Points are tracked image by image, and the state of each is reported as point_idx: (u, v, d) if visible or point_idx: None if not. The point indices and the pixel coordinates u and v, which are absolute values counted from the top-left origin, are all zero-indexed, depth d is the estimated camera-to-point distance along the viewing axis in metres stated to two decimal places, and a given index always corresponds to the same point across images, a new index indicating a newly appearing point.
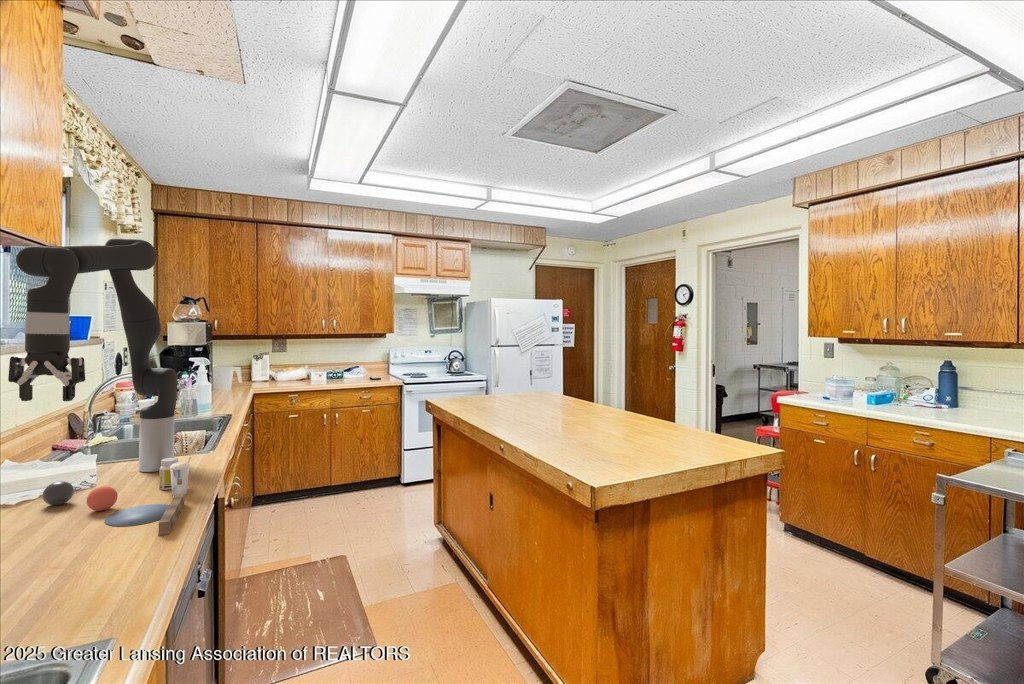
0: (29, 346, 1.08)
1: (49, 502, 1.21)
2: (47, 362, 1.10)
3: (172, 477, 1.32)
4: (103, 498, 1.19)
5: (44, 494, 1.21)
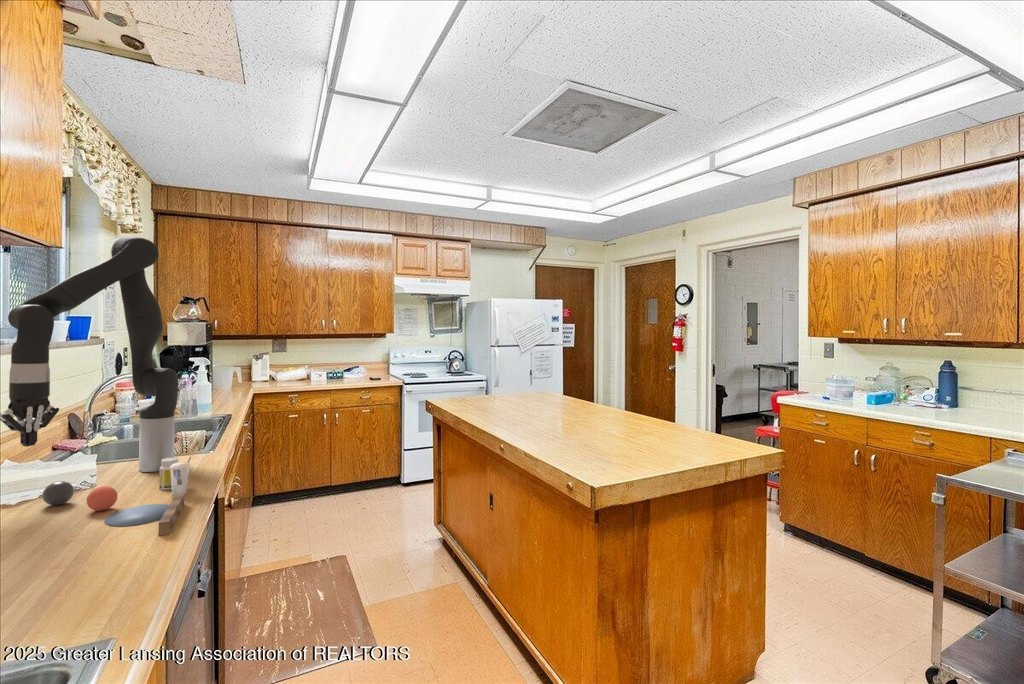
0: None
1: (49, 502, 1.21)
2: None
3: (172, 477, 1.32)
4: (103, 498, 1.19)
5: (44, 494, 1.21)
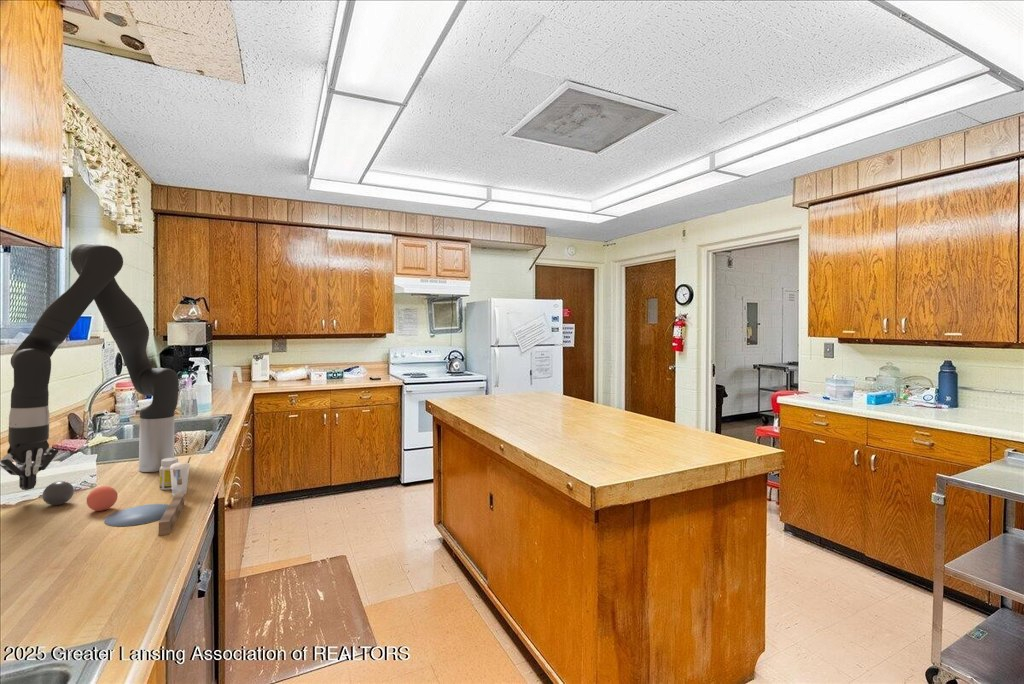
0: None
1: (49, 502, 1.21)
2: None
3: (172, 477, 1.32)
4: (103, 498, 1.19)
5: (44, 494, 1.21)
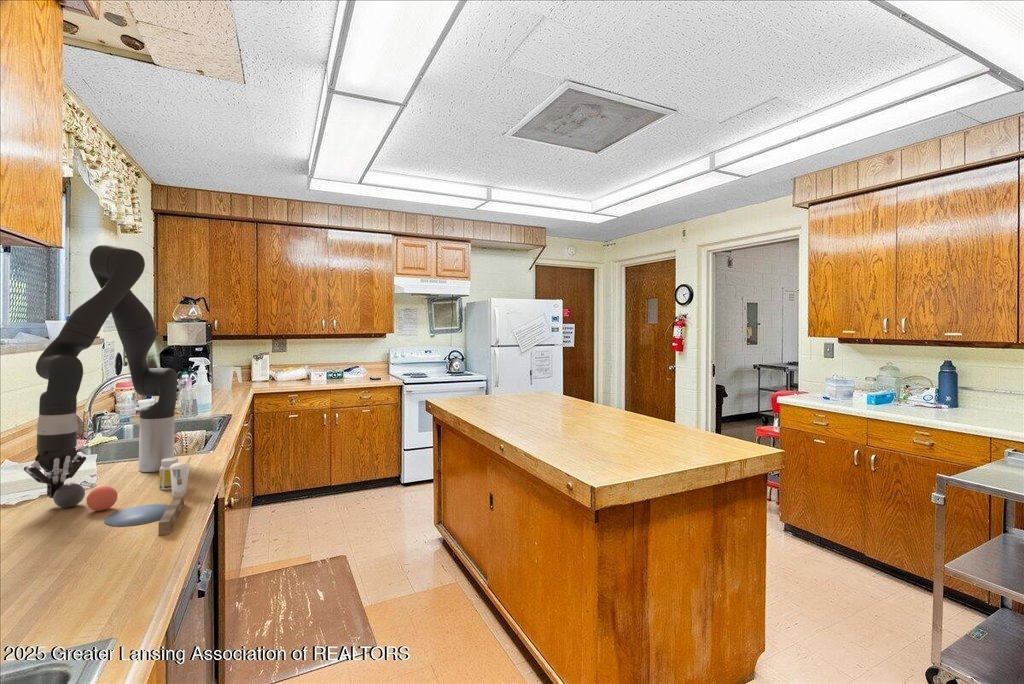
0: None
1: (57, 504, 1.20)
2: None
3: (172, 477, 1.32)
4: (103, 498, 1.19)
5: (56, 497, 1.19)
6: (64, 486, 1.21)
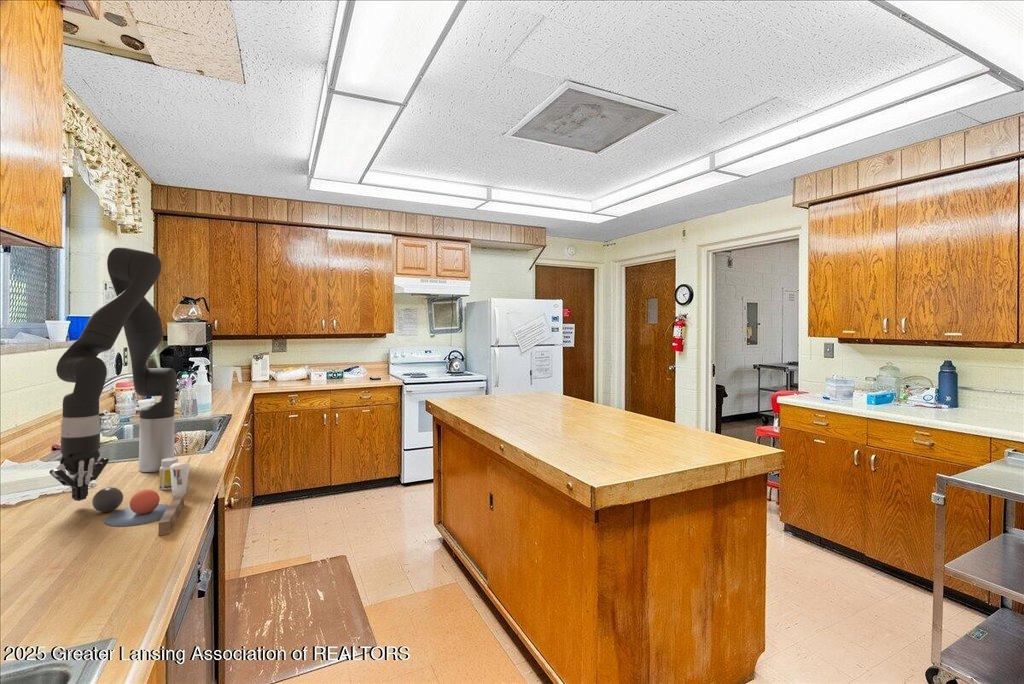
0: None
1: (102, 494, 1.18)
2: None
3: (172, 477, 1.32)
4: None
5: (96, 504, 1.17)
6: (102, 511, 1.19)
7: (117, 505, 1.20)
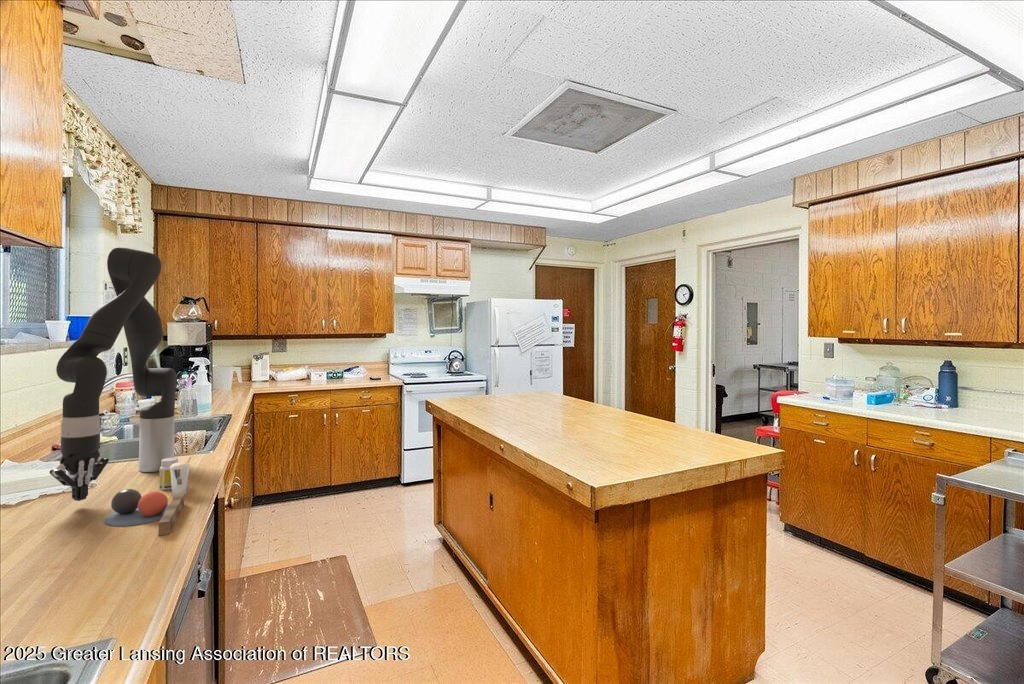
0: None
1: (125, 509, 1.17)
2: None
3: (172, 477, 1.32)
4: (145, 499, 1.16)
5: (114, 505, 1.17)
6: None
7: None
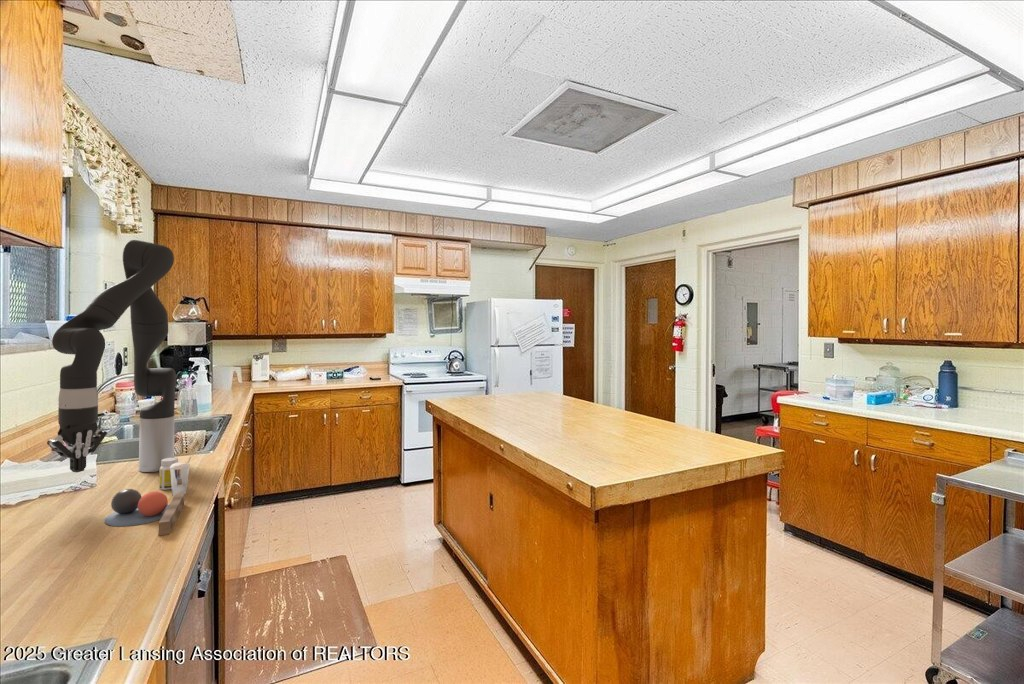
0: None
1: (125, 509, 1.17)
2: None
3: (172, 477, 1.32)
4: (145, 499, 1.16)
5: (114, 505, 1.17)
6: None
7: None
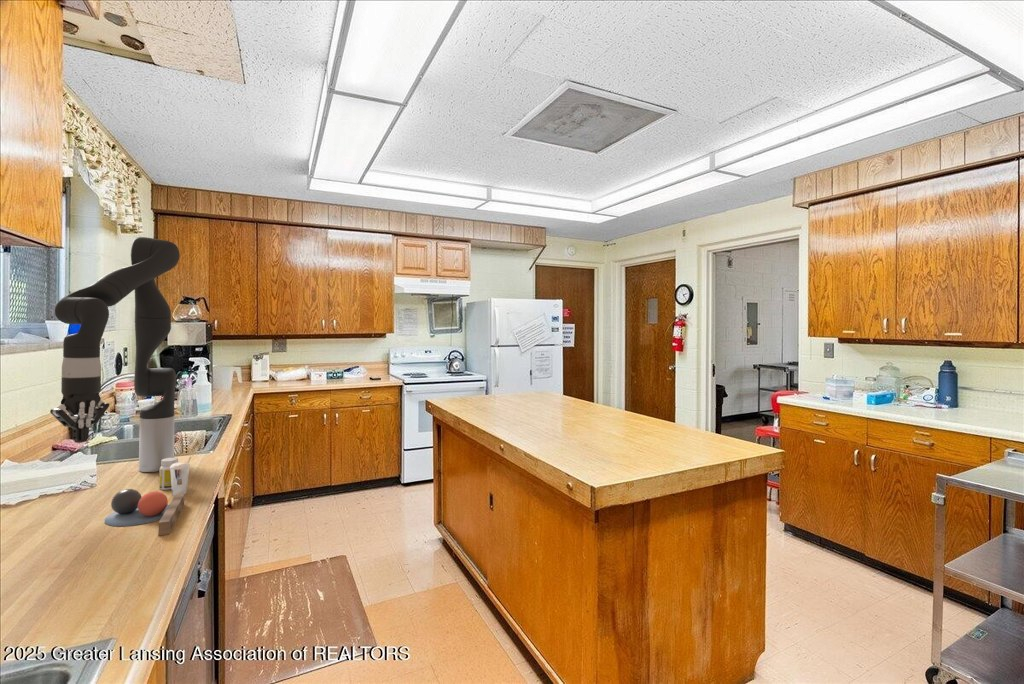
0: None
1: (125, 509, 1.17)
2: None
3: (172, 477, 1.32)
4: (145, 499, 1.16)
5: (114, 505, 1.17)
6: None
7: None
